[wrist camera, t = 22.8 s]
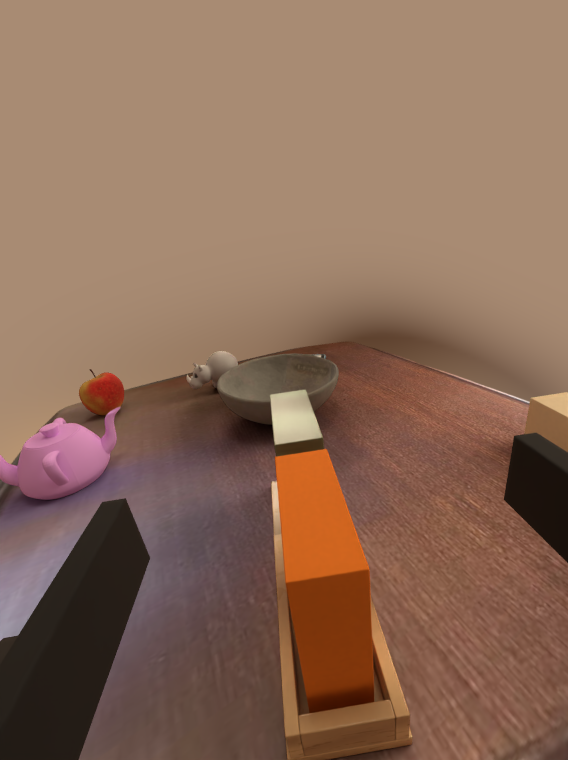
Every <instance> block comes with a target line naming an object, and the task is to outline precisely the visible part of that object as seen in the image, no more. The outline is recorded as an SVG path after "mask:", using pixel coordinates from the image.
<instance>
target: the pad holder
mask: <svg viewBox="0 0 568 760" xmlns="http://www.w3.org/2000/svg"><path fill="white" fill-rule="evenodd" d="M270 402H271V414H272V425H273V437H274V447H275V453H276V457H277V456H284V455H290V454H297V453H303V452H310V451H316V450H323V449H324V442H323V436H322V433H321V431H320V428H319V425H318V422H317V419H316V417H315V414H314V411H313V408H312V406H311V403H310V400H309V397H308V394H307V392H306V390H299V391H292V392H285V393H279V394H272V395H270ZM271 492H272V509H273V526H274V552H275V569H276V587H277V605H278V623H279V640H280V658H281V676H282V694H283V711H284V729H285V739H286V750H287V760H328V759H333V758H339V757H345V756H350V755H356V754H361V753H367V752H373V751H378V750H384V749H389V748H395V747H400V746H406V745H411V744H412V734H411V731H410V728H409V726H410V713H409V710H408V707H407V704H406V701H405V698H404V695H403V692H402V689H401V686H400V683H399V680H398V677H397V674H396V671H395V668H394V665H393V662H392V659H391V656H390V653H389V650H388V647H387V644H386V641H385V638H384V635H383V632H382V629H381V626H380V623H379V620H378V617H377V614H376V611H375V608H374V605H373V602H372V599H371V623H372V648H373V674H374V699H375V702H372V703H366V704H360V705H355V706H349V707H343V708H337V709H332V710H326V711H320V712H314V713H309V708H308V702H307V697H306V691H305V686H304V681H303V675H302V670H301V664H300V659H299V653H298V648H297V643H296V637H295V632H294V626H293V621H292V616H291V610H290V605H289V599H288V594H287V589H286V583H285V572H284V560H283V548H282V536H281V524H280V512H279V501H278V489H277V481H273V482H271ZM370 597H371V596H370Z"/></svg>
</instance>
